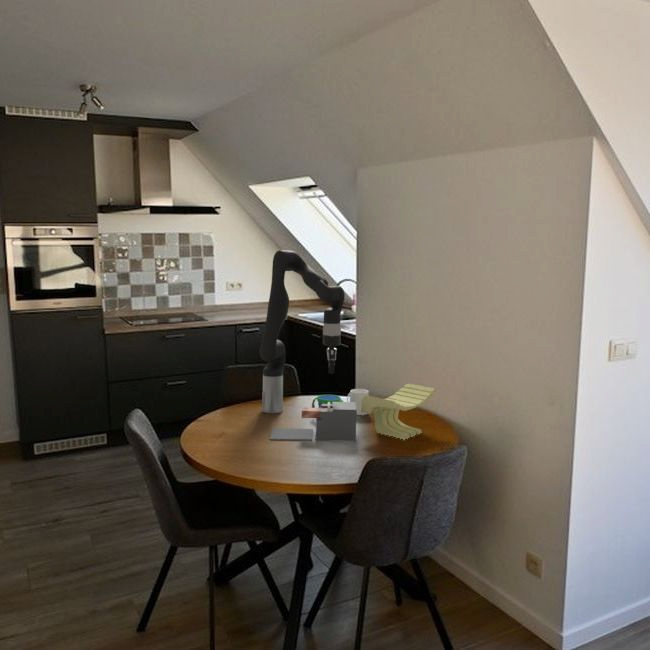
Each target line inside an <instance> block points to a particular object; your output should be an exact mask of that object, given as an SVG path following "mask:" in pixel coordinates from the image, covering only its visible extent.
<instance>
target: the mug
mask: <svg viewBox="0 0 650 650" xmlns="http://www.w3.org/2000/svg"><path fill="white" fill-rule="evenodd" d="M369 393H370V392H369V390H368V389H365V388H353V389H351V390H350V392H349V393H348V394H347V397H346V402H355V403H356V410H357V411H356V416H357V415H362V416H366V415H368V414H367V413H363V412H361V401H362V398H363V397H364V396H370V394H369ZM365 414H366V415H365Z"/></svg>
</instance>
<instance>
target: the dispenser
mask: <svg viewBox="0 0 650 650" xmlns="http://www.w3.org/2000/svg"><path fill="white" fill-rule="evenodd" d="M322 408H327V410H321V418H315V419H316V420H315V441H343V442H344V441H345V442H346V441H348V442H349V441H351V442H354V441H355V442H356V440H357V415H356V411H357V410H356V403H355V402H350V401H348V402H347V401H344V402H333V403H332V404H330V402H328V403H327V404H322ZM330 408H333V410H330Z"/></svg>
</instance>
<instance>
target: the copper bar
mask: <svg viewBox="0 0 650 650" xmlns="http://www.w3.org/2000/svg"><path fill="white" fill-rule="evenodd" d="M321 410H327V408H319V407H315V408H312V407H302V408H301V419H316V418H321ZM330 410H333V408H330Z"/></svg>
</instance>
